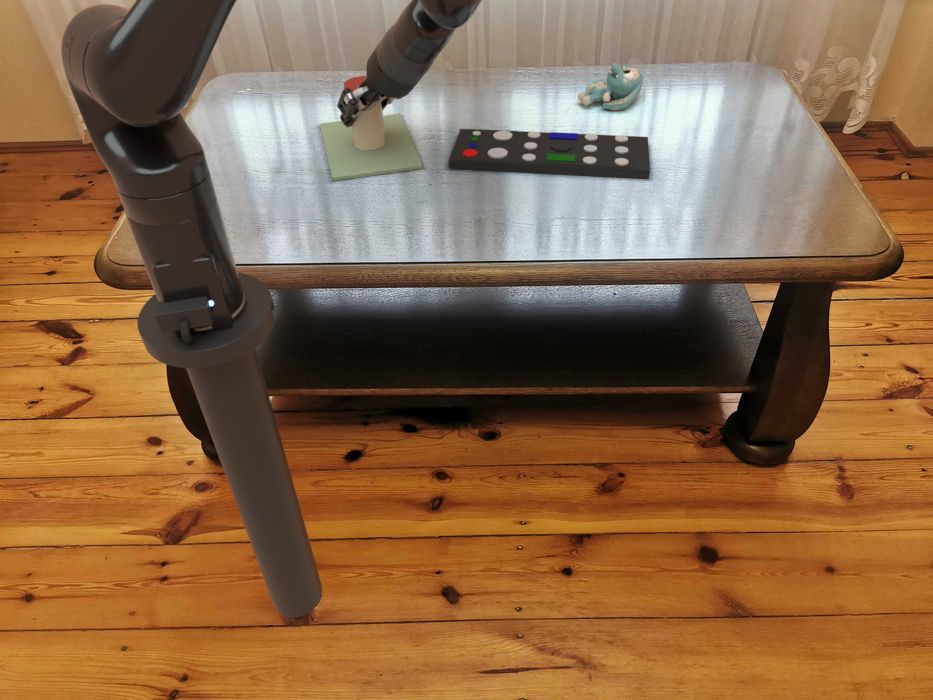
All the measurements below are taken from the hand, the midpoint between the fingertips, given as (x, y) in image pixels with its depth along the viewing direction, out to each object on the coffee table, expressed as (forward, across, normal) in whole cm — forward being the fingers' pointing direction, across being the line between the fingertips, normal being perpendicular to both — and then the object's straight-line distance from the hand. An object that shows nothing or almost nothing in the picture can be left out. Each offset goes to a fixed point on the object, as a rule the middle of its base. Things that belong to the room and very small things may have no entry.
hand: (359, 115), depth 120 cm
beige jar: (+2, 0, +4) cm, 5 cm away
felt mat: (+2, 0, +4) cm, 5 cm away
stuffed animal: (-10, -40, +18) cm, 45 cm away
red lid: (-5, 0, -2) cm, 6 cm away
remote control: (-15, -17, +22) cm, 31 cm away
